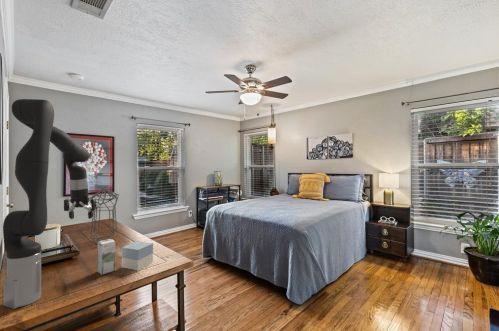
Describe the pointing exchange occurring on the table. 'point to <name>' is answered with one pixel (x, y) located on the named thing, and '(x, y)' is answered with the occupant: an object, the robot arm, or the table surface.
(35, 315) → the table surface
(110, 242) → the syrup box
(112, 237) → the geometric lantern
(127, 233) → the table surface
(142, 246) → the tower top block
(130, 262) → the tower base block
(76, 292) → the table surface
